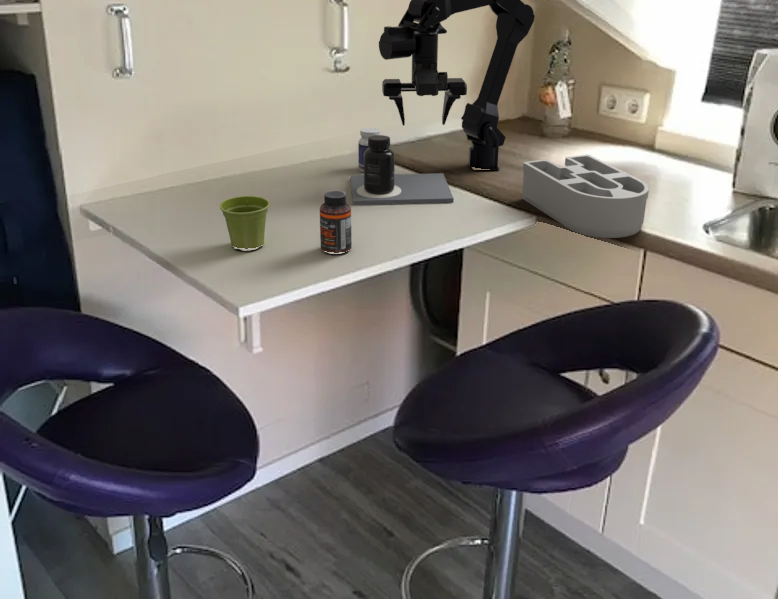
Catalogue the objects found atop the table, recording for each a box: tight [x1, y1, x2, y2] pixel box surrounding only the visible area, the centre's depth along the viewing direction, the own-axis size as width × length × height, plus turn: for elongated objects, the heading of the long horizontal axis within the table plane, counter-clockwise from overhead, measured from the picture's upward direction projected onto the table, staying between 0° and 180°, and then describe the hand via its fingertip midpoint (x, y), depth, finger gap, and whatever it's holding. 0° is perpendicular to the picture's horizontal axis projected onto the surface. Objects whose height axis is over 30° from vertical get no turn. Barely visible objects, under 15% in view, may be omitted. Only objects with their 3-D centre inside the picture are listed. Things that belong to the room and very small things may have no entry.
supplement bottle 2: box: [363, 134, 396, 194], centre depth 190 cm, size 7×7×12 cm
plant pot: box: [219, 195, 271, 249], centre depth 164 cm, size 9×9×9 cm
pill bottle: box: [357, 127, 381, 173], centre depth 208 cm, size 6×6×10 cm
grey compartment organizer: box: [521, 154, 650, 239], centre depth 180 cm, size 17×28×9 cm, turn 21°
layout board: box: [350, 172, 455, 206], centre depth 196 cm, size 22×18×1 cm
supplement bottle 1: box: [319, 190, 353, 253], centre depth 162 cm, size 6×6×11 cm
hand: (423, 124), depth 198 cm, fingers open, 9 cm apart
